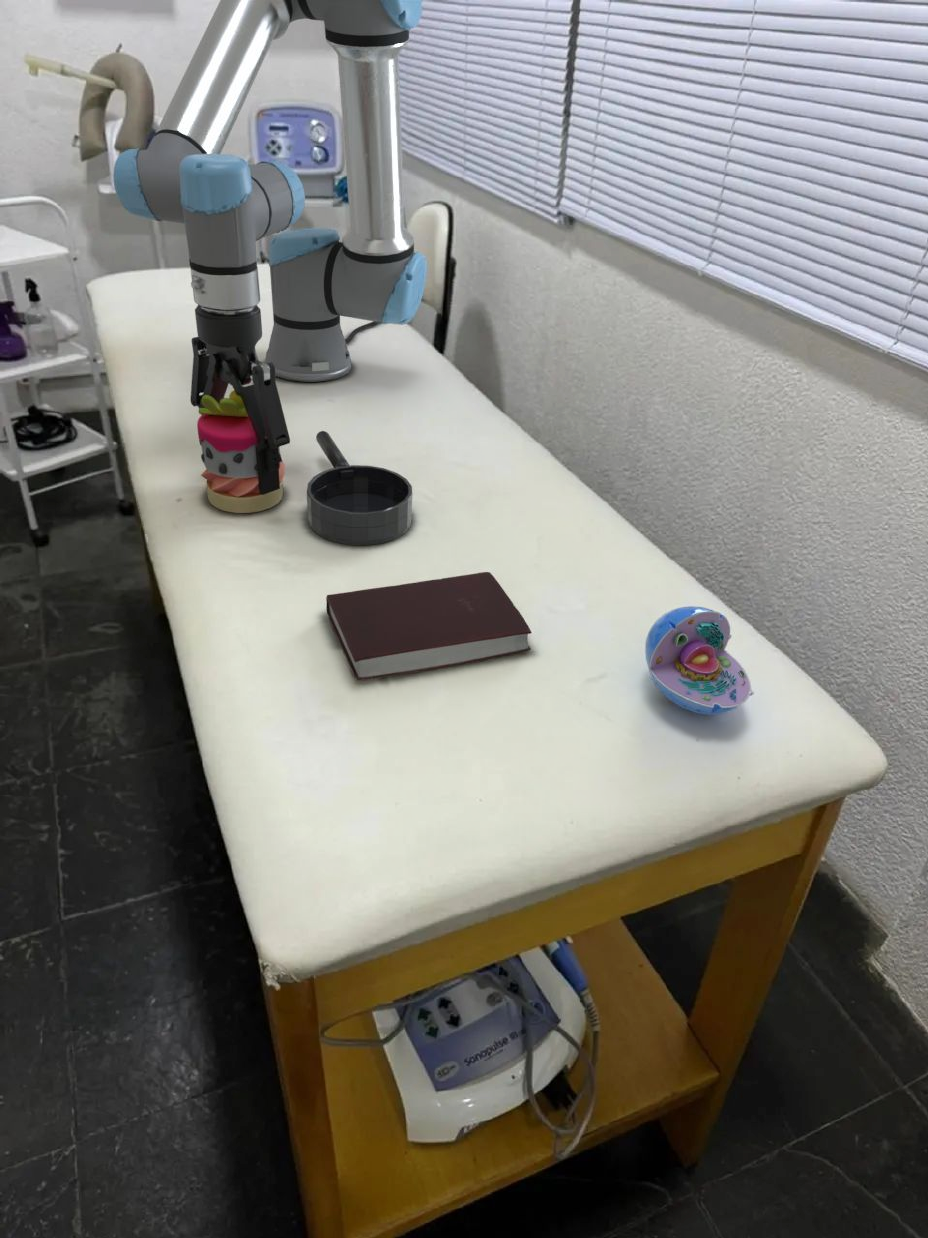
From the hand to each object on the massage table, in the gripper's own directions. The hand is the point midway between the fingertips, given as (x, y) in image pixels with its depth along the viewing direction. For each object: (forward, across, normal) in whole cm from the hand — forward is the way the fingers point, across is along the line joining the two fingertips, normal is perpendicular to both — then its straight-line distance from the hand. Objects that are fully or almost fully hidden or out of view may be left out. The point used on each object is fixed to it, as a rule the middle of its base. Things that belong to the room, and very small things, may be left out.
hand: (243, 475), depth 113 cm
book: (+3, +38, -4) cm, 38 cm away
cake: (+3, 0, 0) cm, 3 cm away
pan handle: (+1, +3, +13) cm, 13 cm away
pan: (+3, +15, +8) cm, 17 cm away
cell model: (+3, +64, +9) cm, 64 cm away
